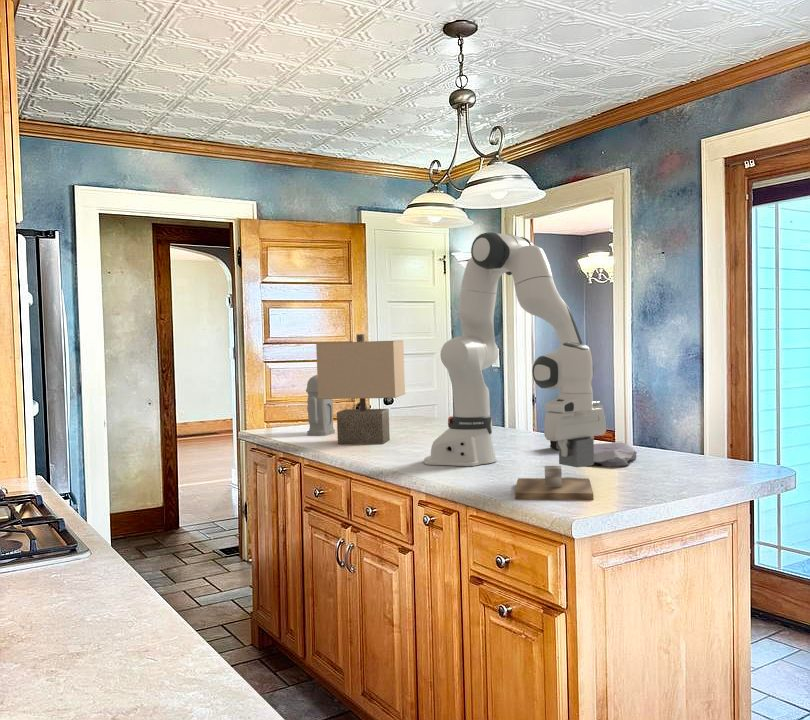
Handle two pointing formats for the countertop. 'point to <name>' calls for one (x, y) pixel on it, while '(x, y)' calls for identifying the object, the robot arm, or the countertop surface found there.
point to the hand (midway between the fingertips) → (576, 454)
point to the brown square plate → (554, 486)
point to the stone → (613, 454)
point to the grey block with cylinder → (578, 452)
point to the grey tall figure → (318, 411)
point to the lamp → (361, 384)
